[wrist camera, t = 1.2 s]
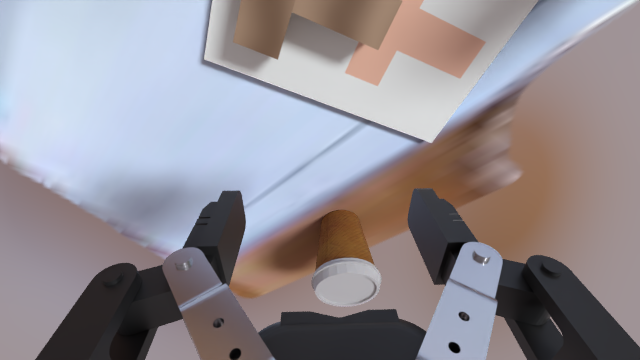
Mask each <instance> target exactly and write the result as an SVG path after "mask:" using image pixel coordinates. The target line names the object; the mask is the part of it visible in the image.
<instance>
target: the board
mask: <svg viewBox="0 0 640 360" xmlns="http://www.w3.org/2000/svg"><path fill="white" fill-rule="evenodd" d="M537 2H538V0H402V3H401V5H400V7H399V9H398V11H397V13H396V15H395V17H394V19H393V21H392V23H391V26H390V28H389V30H388V32H387V34H386V36H385V38H384V40H383V42H382V44H381V46H380V48H379V50H376V49H374V48H372V47H370V46H367V45H365V44H363V43H360V42H358V41H356V40H354V39H351V38H349V37H347V36H345V35H342V34H340V33H338V32H336V31H333V30H331V29H329V28H326V27H324V26H322V25H320V24H317V23H315V22H313V21H311V20H308V19H306V18H304V17H302V16H299V15H297V14H295V13H292V14H291V17H290V20H289V24H288V27H287V31H286V34H285V37H284V41H283V44H282V47H281V51H280V54H279V58H278V60H277V59H275V58H272V57H269V56H267V55H264V54H262V53H259V52H257V51H254V50H252V49H249V48H247V47H244V46H241V45H239V44H236V43H234V42H233V39H234V34H235V29H236V24H237V18H238V13H239V8H240V3H241V0H212V6H211V13H210V20H209V27H208V34H207V41H206V49H205V56H204V60H207V61H210V62H212V63H215V64H218V65H221V66H223V67H226V68H229V69H231V70H234V71H237V72H240V73H242V74H245V75H248V76H251V77H253V78H256V79H259V80H261V81H264V82H267V83H270V84H272V85H275V86H278V87H280V88H283V89H286V90H289V91H291V92H294V93H297V94H299V95H302V96H305V97H308V98H310V99H313V100H316V101H319V102H321V103H324V104H327V105H329V106H332V107H335V108H338V109H340V110H343V111H346V112H348V113H351V114H354V115H357V116H359V117H362V118H365V119H367V120H370V121H373V122H376V123H378V124H381V125H384V126H387V127H389V128H392V129H395V130H397V131H400V132H403V133H406V134H408V135H411V136H414V137H416V138H419V139H422V140H425V141H427V142H430V143H432V141H433V140H434V139H435V137H436V136H437V135H438V133H439V132H440V131H441V129H442V128H443V127H444V125H445V124H446V123H447V122H448V120H449V119H450V118H451V116H452V115H453V114H454V112H455V111H456V110H457V108H458V107H459V106H460V104H461V103H462V102H463V100H464V99H465V98H466V96H467V95H468V94H469V92H470V91H471V90H472V88H473V87H474V86H475V84H476V83H477V82H478V80H479V79H480V78H481V76H482V75H483V74H484V72H485V71H486V70H487V68H488V67H489V66H490V64H491V63H492V62H493V60H494V59H495V58H496V56H497V55H498V54H499V52H500V51H501V50H502V48H503V47H504V46H505V44H506V43H507V42H508V40H509V39H510V38H511V36H512V35H513V34H514V32H515V31H516V30H517V28H518V27H519V26H520V24H521V23H522V22H523V20H524V19H525V18H526V16H527V15H528V14H529V12H530V11H531V10H532V8H533V7H534V6H535V4H536V3H537Z"/></svg>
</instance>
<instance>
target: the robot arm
mask: <svg viewBox="0 0 640 360" xmlns="http://www.w3.org/2000/svg"><path fill="white" fill-rule="evenodd" d="M245 225H246V219H245V212H244V206H243V201H242V195H241V192H240V191H223V192H222V193H221V196H220V198H219V200H218V202H210V203H209V204H208V205H207V206H206V207H205V208H203V210H202V212H201V214H200V216H199V219H197V221H196V223H195V225H194V227H193V229H192V231H191V233H190V235H189V237H188V239H187V241H186V243H185V245H184V246H183V248H182V249H180V250H177V251H175V252H174V253H172V254H171V255H169V256H168V257H167V258H166V260H165V261H164V263H163V265H161V266H157V267H153V268H149V269H146V270H142V271H137V268H136V267H135V266H134V265H133V264H130V263H120V264H116V265H112V266H110V267H108V268H106V269H104V270H103V271H101V272H100V273H98V274H97V275H96V276H95V277H94V278H93V280H92V281H91V282H90V283H89V285H88V286H87V288H86V289H85V290H84V292H83V293H82V295H81V296H80V298H79V299H78V300H77V302H76V303H75V305H74V306H73V307H72V309H71V310H70V312H69V313H68V314H67V316H66V317H65V319H64V320H63V321H62V323H61V324H60V326H59V327H58V329H57V330H56V331H55V333H54V334H53V336H52V337H51V338H50V340H49V341H48V343H47V344H46V345H45V347H44V348H43V350H42V351H41V352H40V354H39V355H38V357H37V358H36V359H35V360H145V358H146V356H147V353H148V351H149V348H150V346H151V343H152V341H153V338H154V336H155V333H156V331H157V328H158V327H159V326H162V325H165V324H168V323H171V322H174V321H178V320H180V319H183V320H184V323H185V325H186V327H187V329H188V332H189V334H190V336H191V339H192V341H193V343H194V346H195V348H196V350H197V353H198V355H199V357H200V360H486V355H487V351H488V346H489V341H490V336H491V332H492V327H493V322H494V318H495V315H498V316H501V317H504V318H505V320H506V322H507V324H508V326H509V327H510V329H511V331H512V333H513V335H514V336H515V338H516V340H517V342H518V344H519V345H520V347H521V349H522V351H523V353H524V354H525V356H526V358H527V360H640V347H639V346H638V345H637V344H636V343H635V342H634V340H633V339H632V338H631V337H630V336H629V335H628V334H627V333H626V332H625V330H624V329H623V328H622V327H621V326H620V325H619V324H618V323H617V321H616V320H615V319H614V318H613V317H612V316H611V315H610V314H609V313H608V312H607V311H606V309H605V308H604V307H603V306H602V305H601V304H600V303H599V301H598V300H597V299H596V298H595V297H594V296H593V295H592V294H591V293H590V291H588V289H587V288H586V287H585V286H584V285H583V284H582V283H581V281H579V279H578V278H577V277H576V276H575V275H574V274H573V273H572V271H571V270H570V269H569V268H568V267H566V266H565V265H564V264H562V263H561V262H559V261H557V260H555V259H553V258H550V257H546V256H542V255H534V256H531V257H530V258H529V259H528V260H527V262H526V264H523V263H518V262H514V261H509V260H505V259H502V257H501V256H500V254H499V253H498V252H497V251H496V250H494V249H493V248H491V247H490V246H488V245H486V244H483V243H479V242H478V241H477V240H476V238H475V237H474V235H473V234H472V233H471V231H470V229H469V228H468V227H467V225H466V224H465V222H464V221H462V218H461V217H460V215H458V213H457V211H456V210H455V208H454V207H453V205H451V204H450V203H448V202H447V201H446V200H444V199H439V198H438V197H437V195H436V193H435V192H434V190H433V189H431V188H423V189H414V191H413V194H412V199H411V203H410V208H409V213H408V225H409V228H410V231H411V233H412V235H413V238H414V240H415V242H416V244H417V247H418V249H419V251H420V253H421V256H422V258H423V260H424V262H425V265H426V266H427V269H428V271H429V274H430V276H431V278H432V281H433V283H434V285H438V284H439V285H440V284H445V289H444V292H443V294H442V296H441V299H440V301H439V303H438V306H437V308H436V311H435V313H434V316H433V318H432V321H431V323H430V326H429V328H428V330H427V332H426V331H425V330H423V329H422V328H420V327H418V326H416V325H415V324H413V323H410V322H408V321H405V320H402V319H399V318H398V315H397V311H396V310H395V309H391V310H390V309H388V310H367V311H363V312H359V313H356V314H352V315H349V316H346V317H342V318H338V317H333V316H328V315H323V314H319V313H314V312H282V313H281V322H278V323H275V324H272V325H270V326H268V327H266V328H264V329H263V330H261V331H260V332H257V331H256V329H255V328H254V326H253V324H252V323H251V321H250V320H249V318H248V317H247V315H246V313H245V312H244V310H243V309H242V307H241V306H240V304H239V302H238V301H237V300H236V298H235V296H234V295H233V293H232V291H231V290H230V288H229V284H230V280H231V277H232V273H233V270H234V266H235V263H236V259H237V256H238V252H239V249H240V245H241V242H242V238H243V235H244V231H245ZM550 316H551V317H552V319H553V320H554V322H555V323H556V324H557V325H558V327H559V329H560V330H561V332H562V335H563V336H562V335H561V333H560V332H559V331H558V329H557V328H556V326H555V325H554V323H553V322H552V321H551V319H550Z"/></svg>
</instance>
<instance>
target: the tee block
mask: <svg viewBox="0 0 640 360" xmlns="http://www.w3.org/2000/svg"><path fill="white" fill-rule="evenodd" d="M401 3H402V0H241V3H240V8H239V13H238V18H237V24H236V29H235V34H234V39H233V42H234V43H236V44H239V45H241V46H244V47H247V48H249V49H252V50H254V51H257V52H259V53H262V54H264V55H267V56H269V57H272V58H275V59H277V60H278V58H279V54H280V51H281V47H282V44H283V41H284V37H285V34H286V31H287V27H288V24H289V20H290V17H291V14H292V13H295V14H297V15H299V16H302V17H304V18H306V19H308V20H311V21H313V22H315V23H317V24H320V25H322V26H324V27H326V28H329V29H331V30H333V31H336V32H338V33H340V34H342V35H345V36H347V37H349V38H351V39H354V40H356V41H358V42H360V43H363V44H365V45H367V46H370V47H372V48H374V49H376V50H379V48H380V46H381V44H382V42H383V40H384V38H385V36H386V34H387V32H388V30H389V28H390V26H391V23H392V21H393V19H394V17H395V15H396V13H397V11H398V9H399V7H400V5H401Z"/></svg>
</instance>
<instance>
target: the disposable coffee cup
mask: <svg viewBox="0 0 640 360" xmlns="http://www.w3.org/2000/svg"><path fill="white" fill-rule="evenodd" d="M380 283H381V275H380V272H379V271H378V270H377V268H376V267H375V266H374V262H373V259H372V257H371V253H370V251H369V248H368V245H367V242H366V239H365V236H364V233H363V230H362V227H361V224H360V221H359V219H358V217H357V216H356V215H355V214H354V213H352V212H350V211H346V210H337V211H333V212H331V213H329V214H327V215H326V216H325V217H324V218H323V219H322V222H321V230H320V238H319V246H318V254H317V262H316V270H315V273H314V275H313V278H312V287H313V289H314V290H315V293H316V296H317V297H318V299H320V300H321V301H322V302H324V303H327V304H329V305H333V306H342V307H346V306H347V307H348V306H356V305H360V304H363V303H366V302H368V301H370V300H372V299H373V298H374V297H375V296H376V295H377V293H378V292H379V288H380Z"/></svg>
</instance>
